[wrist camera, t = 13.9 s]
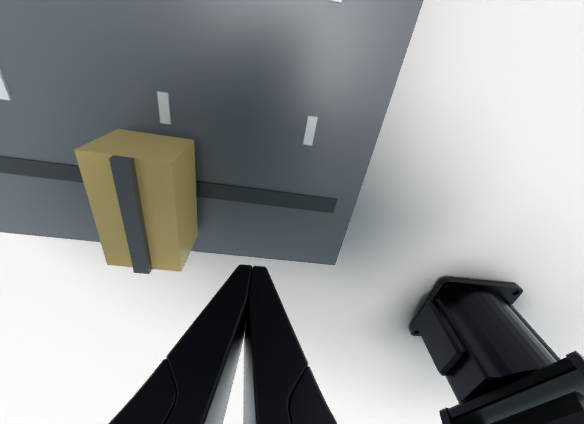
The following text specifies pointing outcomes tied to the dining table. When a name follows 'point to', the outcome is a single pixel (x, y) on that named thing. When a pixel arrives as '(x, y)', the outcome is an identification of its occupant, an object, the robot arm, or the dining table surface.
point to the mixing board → (202, 109)
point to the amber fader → (142, 198)
